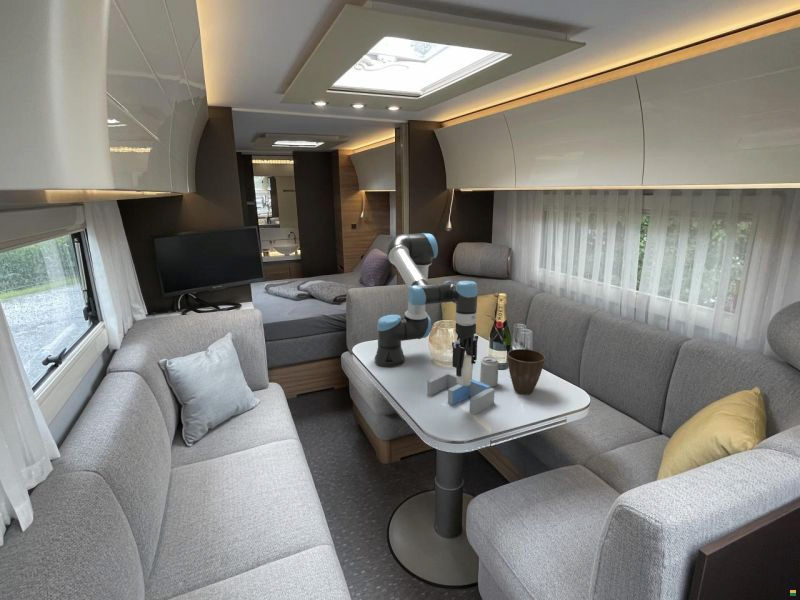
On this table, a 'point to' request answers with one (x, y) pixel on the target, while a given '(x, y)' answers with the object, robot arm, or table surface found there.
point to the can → (489, 371)
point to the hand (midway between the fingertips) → (464, 381)
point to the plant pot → (525, 369)
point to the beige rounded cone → (467, 370)
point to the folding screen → (462, 391)
